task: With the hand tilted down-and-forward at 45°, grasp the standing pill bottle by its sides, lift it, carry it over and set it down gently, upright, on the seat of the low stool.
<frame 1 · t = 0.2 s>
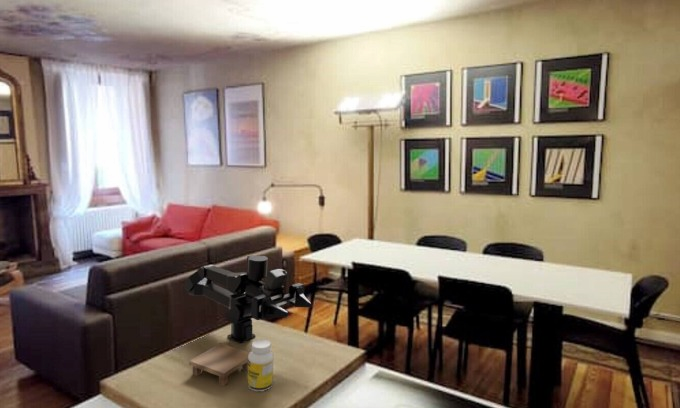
hand: (299, 309, 124), 17 cm above the table, tool horizontal, fingers open, 9 cm apart
stool: (222, 371, 122), on the table
pill bottle: (260, 386, 116), on the table
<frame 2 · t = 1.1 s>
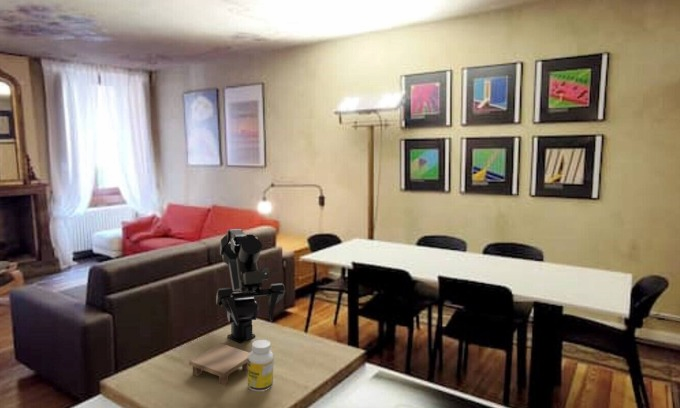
hand: (254, 323, 122), 14 cm above the table, tool tilted 45°, fingers open, 9 cm apart
nothing on the table moved.
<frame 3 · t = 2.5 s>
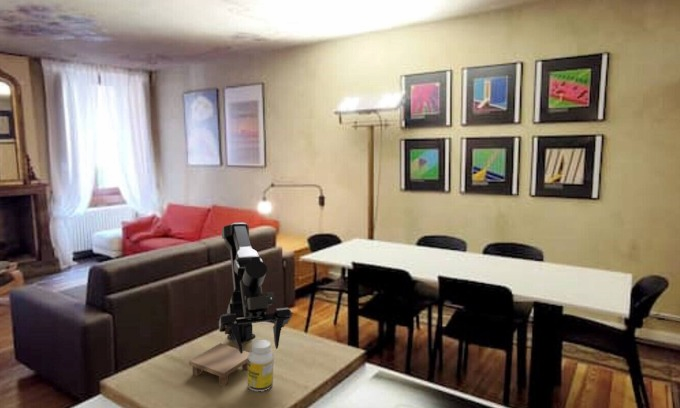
hand: (259, 350, 116), 9 cm above the table, tool tilted 45°, fingers open, 9 cm apart
nothing on the table moved.
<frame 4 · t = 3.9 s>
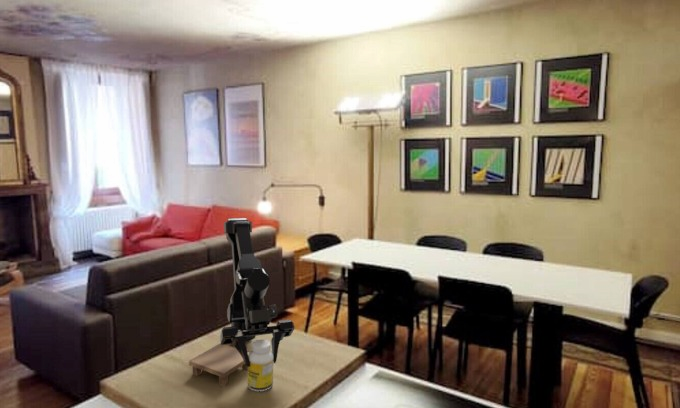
hand: (261, 364, 114), 7 cm above the table, tool tilted 45°, fingers closed on pill bottle, 6 cm apart
pill bottle: (260, 386, 116), on the table, touching gripper
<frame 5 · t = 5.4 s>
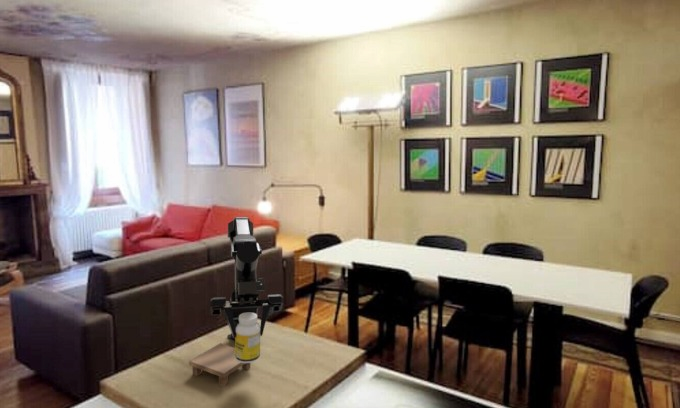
hand: (248, 336, 114), 13 cm above the table, tool tilted 45°, fingers closed on pill bottle, 6 cm apart
pill bottle: (247, 358, 117), point 6 cm above the table, touching gripper
when the fingers open (11 cm above the table, at t = 6.8 s): pill bottle stays where it is, resting on stool.
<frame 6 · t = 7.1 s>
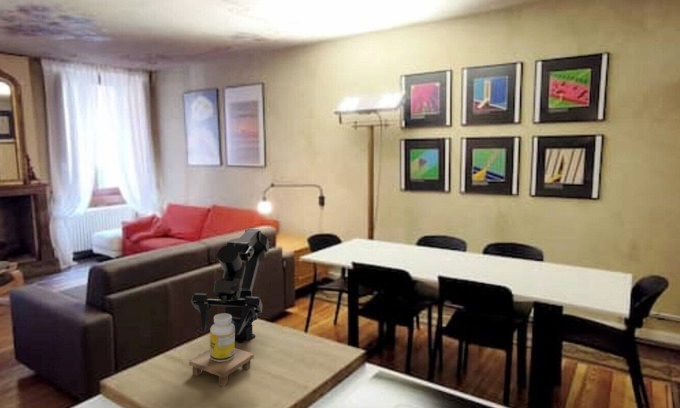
hand: (220, 333, 119), 12 cm above the table, tool tilted 45°, fingers open, 9 cm apart
pill bottle: (222, 357, 122), point 4 cm above the table, touching stool
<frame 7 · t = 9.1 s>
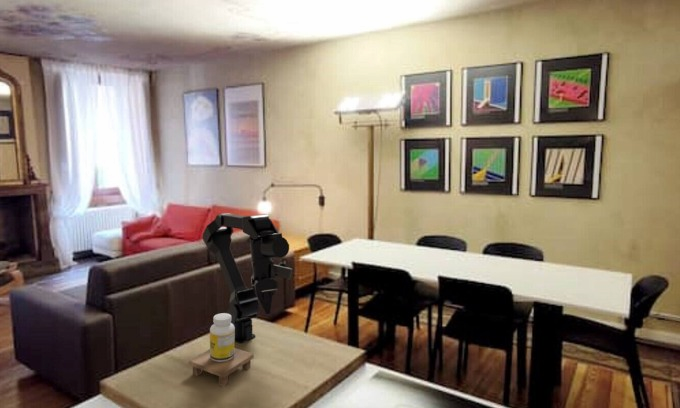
hand: (266, 310, 131), 13 cm above the table, tool pointing down, fingers open, 9 cm apart
nothing on the table moved.
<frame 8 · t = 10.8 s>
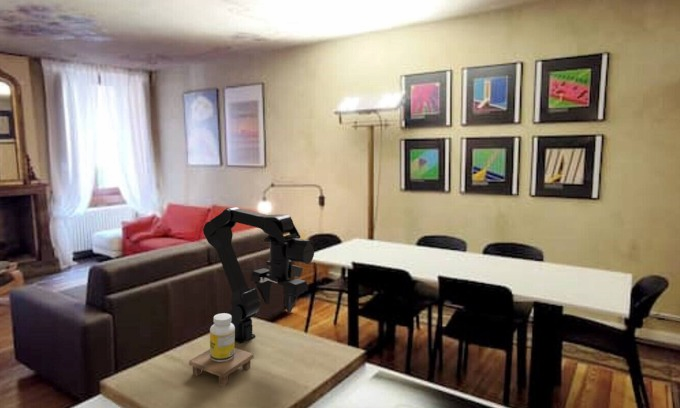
hand: (278, 308, 134), 13 cm above the table, tool pointing down, fingers open, 9 cm apart
nothing on the table moved.
at the end: pill bottle inside the target area on the stool (0.2 cm from its centre), point 3.8 cm above the stool's base; pill bottle tilted 0°; the gripper is holding nothing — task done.
